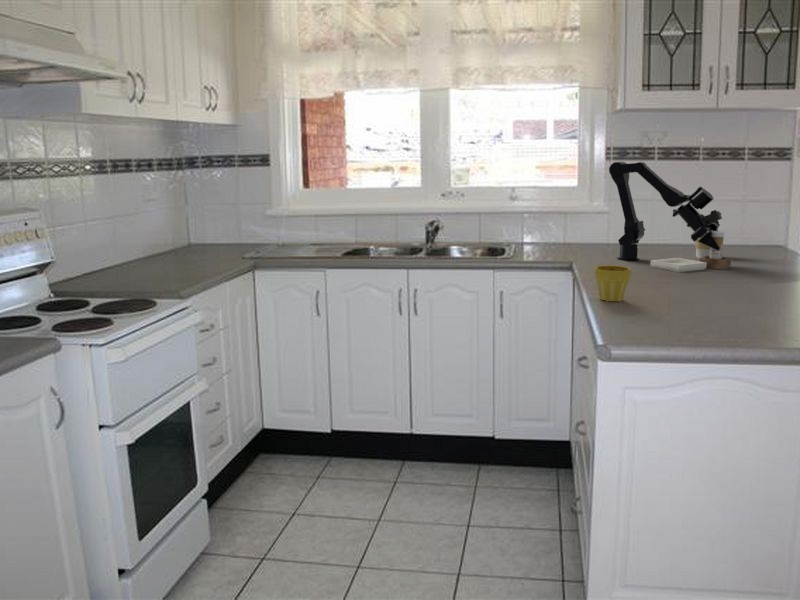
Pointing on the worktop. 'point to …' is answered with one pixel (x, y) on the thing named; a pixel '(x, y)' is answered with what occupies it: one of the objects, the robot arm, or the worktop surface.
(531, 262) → the worktop surface
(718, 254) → the sprinkles bottle
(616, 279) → the plant pot
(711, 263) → the walnut holder
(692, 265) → the cream tray
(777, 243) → the worktop surface
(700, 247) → the coffee cup
